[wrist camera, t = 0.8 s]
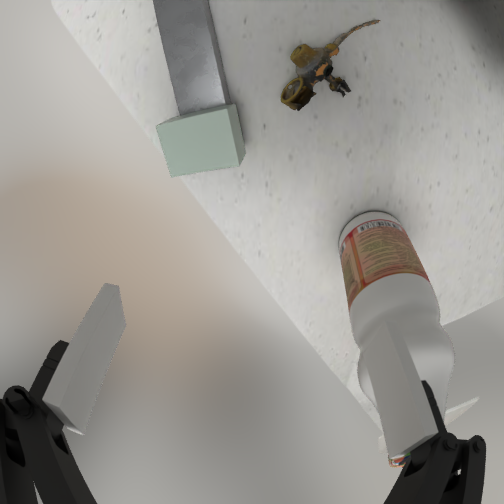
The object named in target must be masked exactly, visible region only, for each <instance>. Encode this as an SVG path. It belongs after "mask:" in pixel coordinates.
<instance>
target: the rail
mask: <svg viewBox="0 0 504 504" xmlns="http://www.w3.org/2000/svg"><path fill="white" fill-rule="evenodd" d="M153 3H154V8H155V13H156V17H157V22H158V26H159V31H160V35H161V40H162V44H163V48H164V53H165V57H166V61H167V65H168V69H169V73H170V78H171V82H172V86H173V90H174V94H175V98H176V101H177V105H178V109H179V113H180V116H181V115H184V114H188V113H193V112H197V111H201V110H205V109H210V108H215V107H219V106H224V105H230V104H231V101H230V97H229V92H228V88H227V83H226V79H225V74H224V69H223V65H222V60H221V56H220V52H219V47H218V43H217V38H216V34H215V29H214V25H213V21H212V16H211V12H210V7H209V3H208V0H153Z"/></svg>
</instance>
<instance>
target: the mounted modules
mask: <svg viewBox="0 0 504 504" xmlns="http://www.w3.org/2000/svg"><path fill="white" fill-rule="evenodd" d="M156 129H157V132H158V136H159V139H160V142H161V146H162V149H163V152H164V156H165V159H166V162H167V165H168V169H169V172H170V175H171V177H177V176H182V175H188V174H193V173H199V172H205V171H211V170H217V169H223V168H230V167H237V166H240V164H241V162H242V160H243V158H244V156H245V154H246V151H245V146H244V142H243V137H242V132H241V127H240V123H239V118H238V113H237V108H236V104H230V105H224V106H219V107H215V108H210V109H205V110H201V111H197V112H193V113H188V114H184V115H181V116H177V117H173V118H170V119H168V120H167V121H165V122H163V123H161V124H159V125H157V126H156Z"/></svg>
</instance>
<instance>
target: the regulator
mask: <svg viewBox="0 0 504 504" xmlns="http://www.w3.org/2000/svg"><path fill="white" fill-rule="evenodd" d="M379 21H380V20H373V21H370V22H366V23H363V24H362V25H359V26H356V27H354V28H352V29H351V31H349V32H348V33H343V34H342V35H340V36H339V37H338V38H337V39H336V40H335V41H334V42H333V43H332V44H331V43H330V44H328V45H327V46H326V47H325V50H324V49H322V48H314V49H312V48H310V47H309V46H308V45H306V44H303V45H300V46H298V47H297V48H296V49H295V50H294V51H293V53H292V54H291V56H290V59H291V60H292V61H293V62H294V63H295V64H296V65H297V66H296V73H297V74H298V76H299V78H296V79H294V80H292V81H291V82H289V83H288V84H287V86H286V87H285V88H284V90H283V92H282V94H281V102H282V103H284V104H286V105H287V106H289V107H290V108H291V109H293V110H296V109H297V110H298V111H300V109H301V108H302V107H304V106H305V105H306V104H307V103H308V102H309V101H310V99H311V97H313V96H314V95H316V93H315V92H313V86H314V84H316V83H317V82H318V81H322V80H323V79H326V80H327V81H328V82H329V83H330V84H329V86H330V89H331V90H332V91H336V92H341V93H342V95H343V97H344V96H345V95H346V94H345V92H344V91H343V90H345V91H346V92H350V91H351V90H350V89H349V87H348V85H347V84H346V82H345V80H342V79H341V78H340V77H339V78H334V77H333V76H332V75H331V73H332V71H333V67H332V61H331V59H330V58H331V57H332V56H334V55H337V54H338V52H339V48H338V46H339V45H340V44H341V42H342V41H343V40H344V39H345V38H346V37H347V36H348V35H349V34H351V33H352V32H353V31H356V30H358V29H361V28H362V27H364V26H369V25H372V24H376V23H378V22H379ZM289 85H292V88H291V89H288V86H289Z"/></svg>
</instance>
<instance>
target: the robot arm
mask: <svg viewBox="0 0 504 504" xmlns="http://www.w3.org/2000/svg"><path fill="white" fill-rule="evenodd" d="M125 327H126V323H125V317H124V312H123V307H122V301H121V296H120V290H119V286H117V285H113V284H108V283H105V284H104V285H103V287H102V288H101V290H100V292H99V293H98V295H97V297H96V298H95V300H94V301H93V303H92V305H91V306H90V308H89V310H88V311H87V313H86V315H85V317H84V318H83V320H82V322H81V324H80V325H79V327H78V329H77V331H76V333H75V334H74V336H73V338H72V340H71V342H70V343H67V342H64V341H61V340H60V341H59V342H57V343H56V344H55V345H54V346H53V347H52V348H51V350H50V352H49V353H48V355H47V359H45V361H44V363H43V366H42V367H41V368H40V370H39V373H38V374H37V376H36V378H35V381H34V382H33V385H32V387H31V389H30V391H29V392H28V391H27V390H26V389H25V388H24V387H21V386H12V387H10V388H8V390H7V391H6V392H5V394H4V397H3V399H0V504H38V501H37V497H36V492H35V487H34V483H35V486H36V488H37V490H38V493H39V495H40V498H41V500H42V502H43V504H97V503H96V501H95V499H94V497H93V495H92V494H91V492H90V490H89V488H88V486H87V484H86V482H85V480H84V478H83V476H82V474H81V472H80V470H79V468H78V466H77V464H76V462H75V459H74V457H73V455H72V453H71V450H70V448H69V445H68V443H67V440H66V438H65V435H64V433H63V431H62V428H63V426H64V425H65V426H66V427H67V428H68V429H69V430H72V431H74V432H77V433H79V434H81V435H84V434H85V431H86V428H87V425H88V422H89V419H90V416H91V413H92V410H93V407H94V404H95V402H96V399H97V396H98V393H99V391H100V388H101V385H102V383H103V380H104V377H105V375H106V372H107V370H108V367H109V365H110V362H111V360H112V357H113V355H114V353H115V350H116V348H117V345H118V343H119V340H120V338H121V336H122V333H123V331H124V329H125ZM363 356H364V359H365V363H366V366H367V370H368V373H369V377H370V380H371V384H372V388H373V391H374V395H375V399H376V403H377V407H378V411H379V415H380V419H381V423H382V427H383V432H384V436H385V441H386V445H387V450H388V455H389V460H390V459H394V458H399V457H402V456H404V455H406V454H407V453H409V452H410V455H411V456H410V457H408V458H406V459H405V460H403V461H401V462H400V463H399V465H398V466H401V465H402V464H404V463H405V465H404V466H403V467H402V468H403V469H402V471H401V473H400V475H399V477H398V479H397V481H396V483H395V485H394V486H393V489H392V490H391V492H390V494H389V496H388V497H387V499H386V500H385V502H384V504H481V500H482V492H483V485H484V475H485V461H486V443H485V441H484V439H483V438H482V437H481V436H479V435H475V436H473V437H472V438H471V439H469V440H460V439H457V438H456V436H454V435H453V434H452V433H448V432H447V430H446V428H445V425H444V422H443V419H442V416H441V413H440V410H439V407H438V406H437V402H436V399H435V398H434V397H435V396H434V393H433V391H432V388H431V387H430V385H429V384H428V383H427V381H426V380H420V377H419V375H418V372H417V370H416V367H415V365H414V362H413V360H412V357H411V355H410V352H409V350H408V348H407V345H406V343H405V340H404V338H403V336H402V334H401V331H400V329H399V327H398V325H397V322H396V321H384V323H383V324H382V326H381V327H380V329H379V331H378V332H377V334H376V335H375V337H374V338H373V340H372V342H371V343H370V345H369V346H368V348H367V349H366V351H365V352H364V354H363ZM460 469H461V474H459V475H458V470H460ZM33 481H34V482H33Z"/></svg>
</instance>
